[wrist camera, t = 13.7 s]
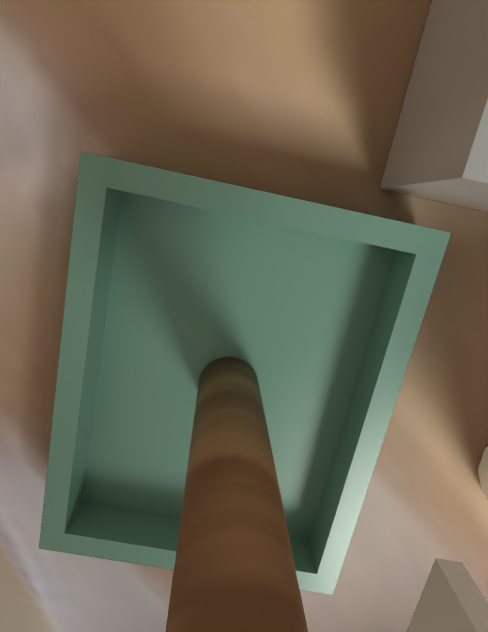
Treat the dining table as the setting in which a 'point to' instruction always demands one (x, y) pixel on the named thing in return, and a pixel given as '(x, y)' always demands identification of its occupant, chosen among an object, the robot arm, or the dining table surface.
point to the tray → (224, 354)
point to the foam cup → (484, 472)
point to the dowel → (233, 517)
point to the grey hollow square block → (446, 111)
